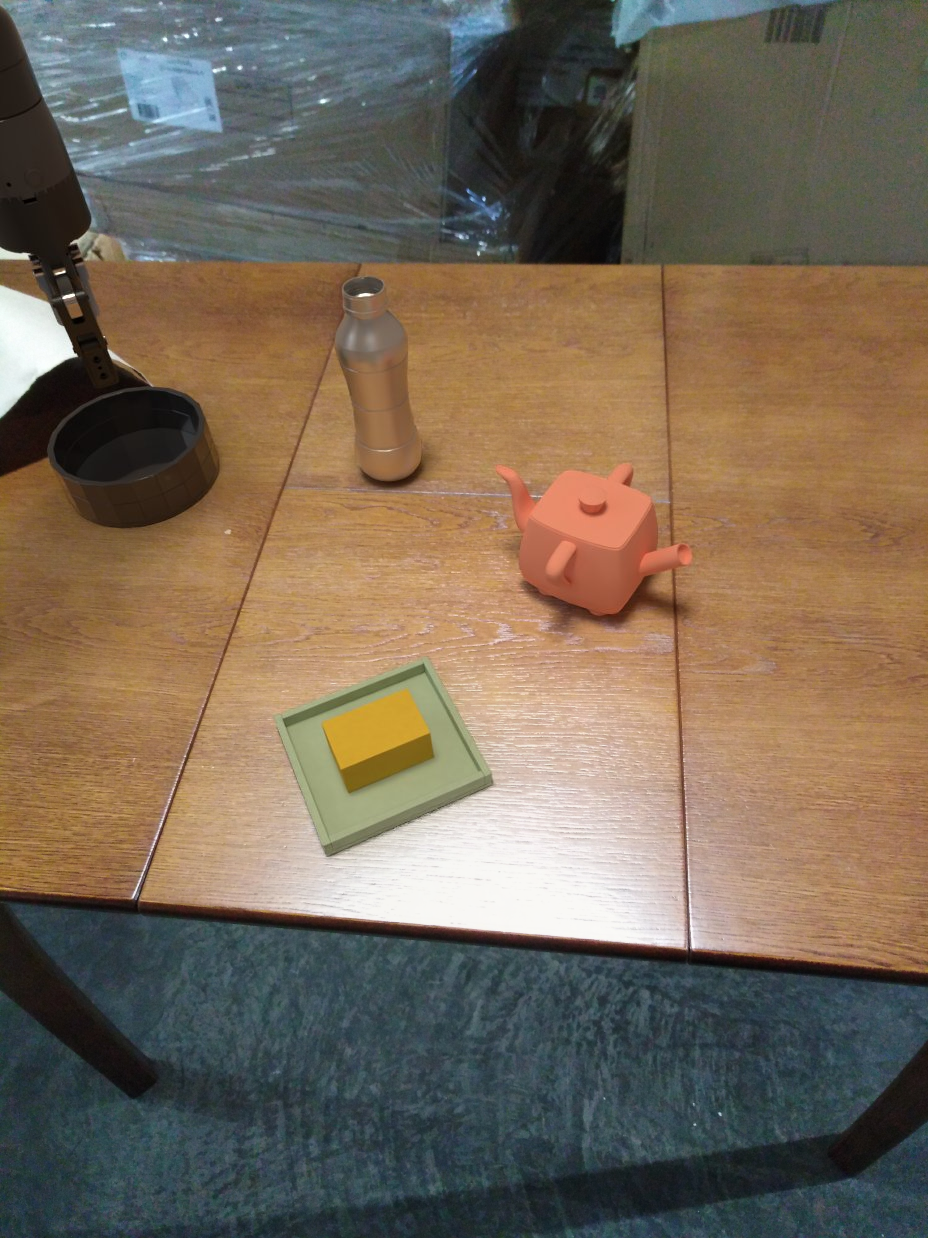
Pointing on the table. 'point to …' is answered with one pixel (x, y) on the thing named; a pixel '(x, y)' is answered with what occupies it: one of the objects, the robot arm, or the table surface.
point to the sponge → (378, 740)
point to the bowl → (134, 456)
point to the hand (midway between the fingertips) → (101, 367)
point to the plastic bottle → (377, 381)
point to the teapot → (590, 538)
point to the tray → (396, 795)
